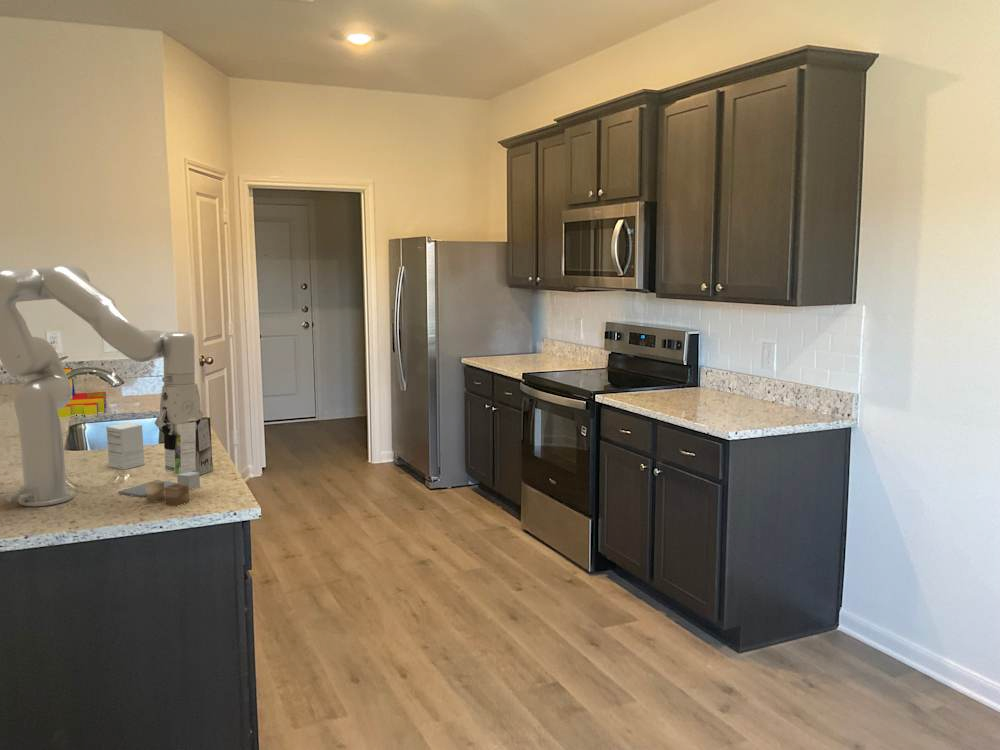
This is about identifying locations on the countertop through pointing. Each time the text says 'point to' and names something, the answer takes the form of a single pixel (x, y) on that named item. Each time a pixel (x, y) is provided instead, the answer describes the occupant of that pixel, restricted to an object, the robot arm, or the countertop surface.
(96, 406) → the building blocks toy
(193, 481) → the grey block
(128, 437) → the supplement box
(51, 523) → the countertop surface
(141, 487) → the slate mat
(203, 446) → the coffee box
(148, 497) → the birch cylinder
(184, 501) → the walnut block
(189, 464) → the syrup box
